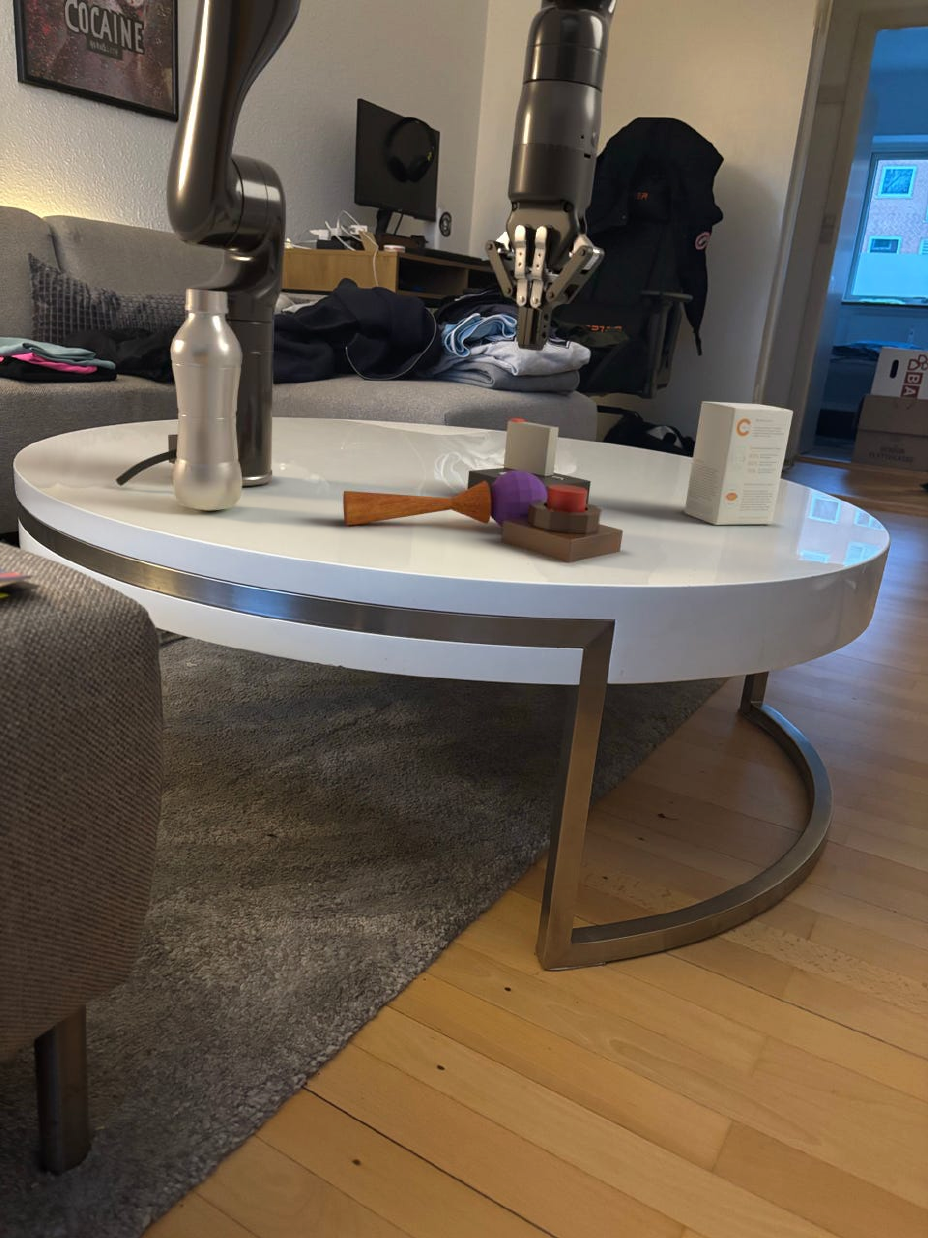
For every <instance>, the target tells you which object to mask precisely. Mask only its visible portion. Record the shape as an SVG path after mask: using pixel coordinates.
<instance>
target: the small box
mask: <svg viewBox="0 0 928 1238" xmlns="http://www.w3.org/2000/svg"><path fill="white" fill-rule="evenodd" d="M699 411H700V412H699V418H698V424H697V431H696V437H695V443H694V449H693V455H692V462H691V469H690V475H689V481H688V489H687V495H686V501H685V507H684V513H685V515H687V516H691V517H692V518H693V517H694V518H696V519H698V520H701V521H703V522H706V523H709V524H711V525H715V526H721V525H723V526H726V525H727V526H729V525H772V524H773V519H774V514H775V507H776V503H777V498H778V492H779V488H780V484H781V483H780V482H781V477H782V471H783V467H784V461H785V456H786V450H787V445H788V440H789V435H790V429H791V424H792V419H793V415H794V411H793V410H792V409H791V410H790V409H787V408H782V407H779V406H778V407H777V406H772V405H766V404H760V403H742V402H722V401H721V402H719V401H704V400H703V401H701V405H700V410H699Z"/></svg>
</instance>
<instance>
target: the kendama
mask: <svg viewBox="0 0 928 1238" xmlns="http://www.w3.org/2000/svg"><path fill="white" fill-rule="evenodd" d="M540 499H547V492H546V488H545V486H544V484H543V483H542V482H541V481H540V480H539V479H538V478H537V477H536V476H535V475H533V474H531V473H528V472H526V471H523V470H515V471H509V472H507V473H505V474H503V475H501V476H499V477H498V478H497V479H496V480H495V481H494V483H493V484H492V485H491V486H490V489H489V486H488V483H487V482H486V481H483V482H481V483H479V484H477V485H475V486H473V487H471V488H470V489H468V490H467V489H466V490H464V491H462V492H460V493H458V494H456V495H454V496H452V497H439V496H425V495H424V496H423V495H410V494H396V493H395V494H394V493H383V492H381V493H379V492H369V491H367V492H366V491H352V490H344V491H343V493H342V505H343V506H342V507H343V519H344V524H345V525H346V527H351V526H357V525H362V524H364V525H365V524H368V523H369V524H370V523H375V522H382V521H388V520H394V519H400V518H401V519H402V518H406V517H414V516H419V515H420V516H421V515H425V514H432V513H433V514H434V513H437V512H438V513H439V512H445V511H454V512H456V513H458V514H460V515H464V516H466V517H468V518H470V519H473V520H476V521H478V522H480V523H483V524H484V525H485V524H486V525H487V524H489V522H490V520H491V519H492V520H493V521H494V522H495V523H496V524H497V525H498V526H500V528H502V529H503V521H505V520H512V519H518V518H525V517H528V515H529V506H530V503H531V502H532V501H533V500H540Z"/></svg>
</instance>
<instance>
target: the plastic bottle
mask: <svg viewBox="0 0 928 1238" xmlns="http://www.w3.org/2000/svg"><path fill="white" fill-rule="evenodd" d="M185 295H186V305H185V304H184V311H185V310H188V318H187V320H186V321H185V320H184V322H183V323H182V325H181V326H180V327H179V329H178V330H177V332H176V334H175V335H174V337H173V338H172V342H171V346H170V359H171V365H172V366H171V367H172V372H173V373H172V374H173V378H174V385H175V391H176V406H177V410H178V409H179V413H178V412H177V421H178V427H177V434H178V441H177V459H176V460H175V464H173V465H174V466H173V473H172V481H171V482H172V487H173V493H174V496H175V498H176V500H177V501H178V503H179V504H180V505H181V506H183V507H185V508H189V509H195V510H200V511H204V512H213V511H219V510H220V511H221V510H226V509H230V508H234V507H235V506H237V504H238V502H239V501H240V499H241V495H242V489H243V486H242V484H243V483H242V475H241V468H240V463H239V461H238V448H237V435H236V411H237V394H238V387H239V380H240V373H241V364H242V351H241V347H240V344H239V342H238V340H237V338H236V336H235V334H234V333H233V331H232V330H231V328H230V327H229V325H228V324H227V322H226V319H225V314H226V313H229V308H227V297H228V295H227V292H217V291H206V290H194V289H188V288H186V291H185Z"/></svg>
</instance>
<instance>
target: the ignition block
mask: <svg viewBox="0 0 928 1238" xmlns="http://www.w3.org/2000/svg"><path fill="white" fill-rule="evenodd" d="M546 504H547V499H540V500H533V501H532V502H531V503H530V506H529V515H528V517H525V518H518V519H512V520H505V521H503V528H502V531H501V539H500V542H501V543H503V544H505V545H509V546H512V547H515V548H517V549H518V548H519V549H520V550H521V549H522V550H525V551H527V552H531V553H535V554H537V555H541V556H544V557H547V558H551V559H554V560H557V561H561V562H563V563H567V564H569V563H574V562H579V561H584V560H589V559H594V558H598V557H602V556H603V557H604V556H607V555H613V554H617V553H620V552H621V547H622V540H623V532H624V530H623V529H619V528H615V527H612V526H608V525H605V524H602V523H601V519H602V518H601V516H602V509H601V508H600V507H597V506H596V505H594V504H590V503H588V504H586V506H585V511H581V512H572V511H562V510H555V509H551V508H548V507H546Z"/></svg>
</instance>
